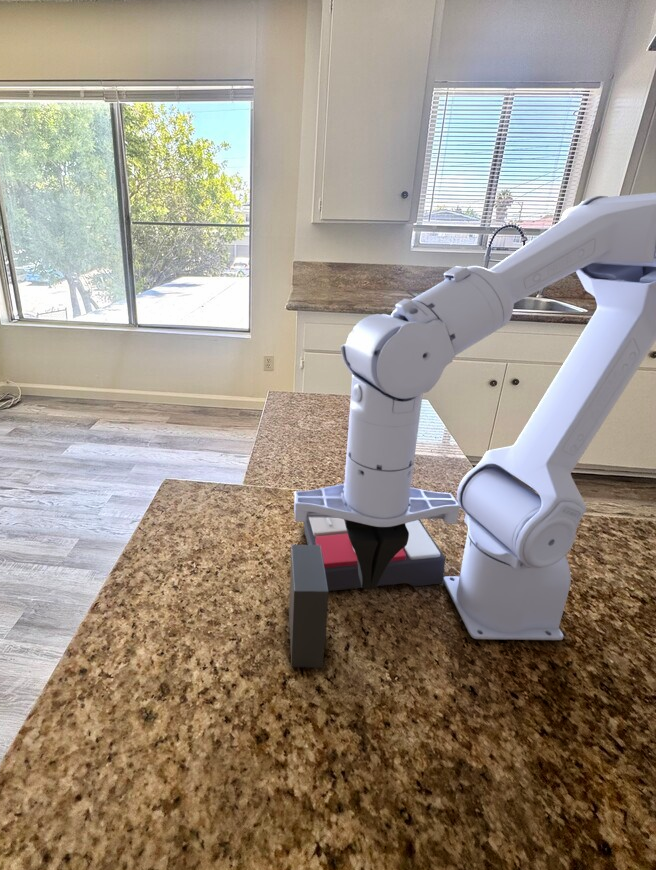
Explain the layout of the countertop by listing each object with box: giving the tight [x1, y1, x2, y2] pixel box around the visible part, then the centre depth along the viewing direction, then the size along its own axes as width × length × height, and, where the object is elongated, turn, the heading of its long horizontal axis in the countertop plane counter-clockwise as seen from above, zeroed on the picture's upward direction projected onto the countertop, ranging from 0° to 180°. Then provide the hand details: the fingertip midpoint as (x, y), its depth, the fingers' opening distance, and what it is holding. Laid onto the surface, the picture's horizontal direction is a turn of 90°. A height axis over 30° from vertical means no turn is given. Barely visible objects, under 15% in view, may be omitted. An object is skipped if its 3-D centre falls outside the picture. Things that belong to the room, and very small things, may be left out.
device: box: [288, 544, 330, 669], centre depth 41 cm, size 3×6×9 cm, turn 0°
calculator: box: [303, 517, 446, 592], centre depth 53 cm, size 11×4×15 cm
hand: (367, 580), depth 40 cm, fingers closed
